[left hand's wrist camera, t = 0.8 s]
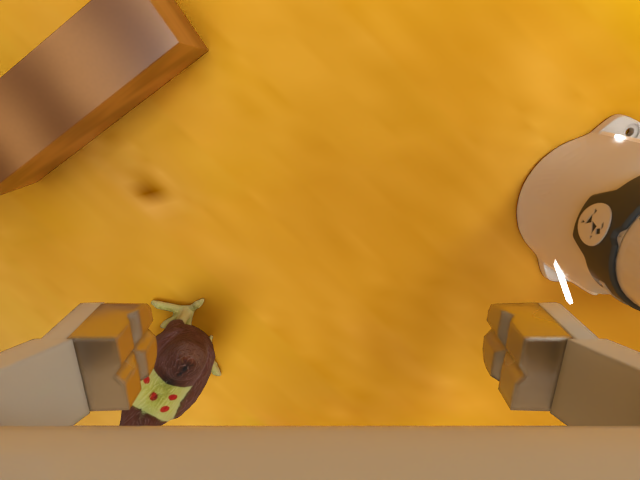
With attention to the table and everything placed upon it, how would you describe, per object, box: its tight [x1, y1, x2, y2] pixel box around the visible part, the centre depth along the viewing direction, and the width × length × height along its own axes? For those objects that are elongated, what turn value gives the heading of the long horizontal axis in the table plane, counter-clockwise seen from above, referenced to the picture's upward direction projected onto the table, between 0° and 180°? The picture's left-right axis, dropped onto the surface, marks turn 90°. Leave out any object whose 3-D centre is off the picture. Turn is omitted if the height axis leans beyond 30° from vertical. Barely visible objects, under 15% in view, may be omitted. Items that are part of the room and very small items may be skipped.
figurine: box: [119, 298, 221, 426], centre depth 42 cm, size 11×15×20 cm
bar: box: [0, 0, 208, 195], centre depth 38 cm, size 24×6×9 cm, turn 123°
